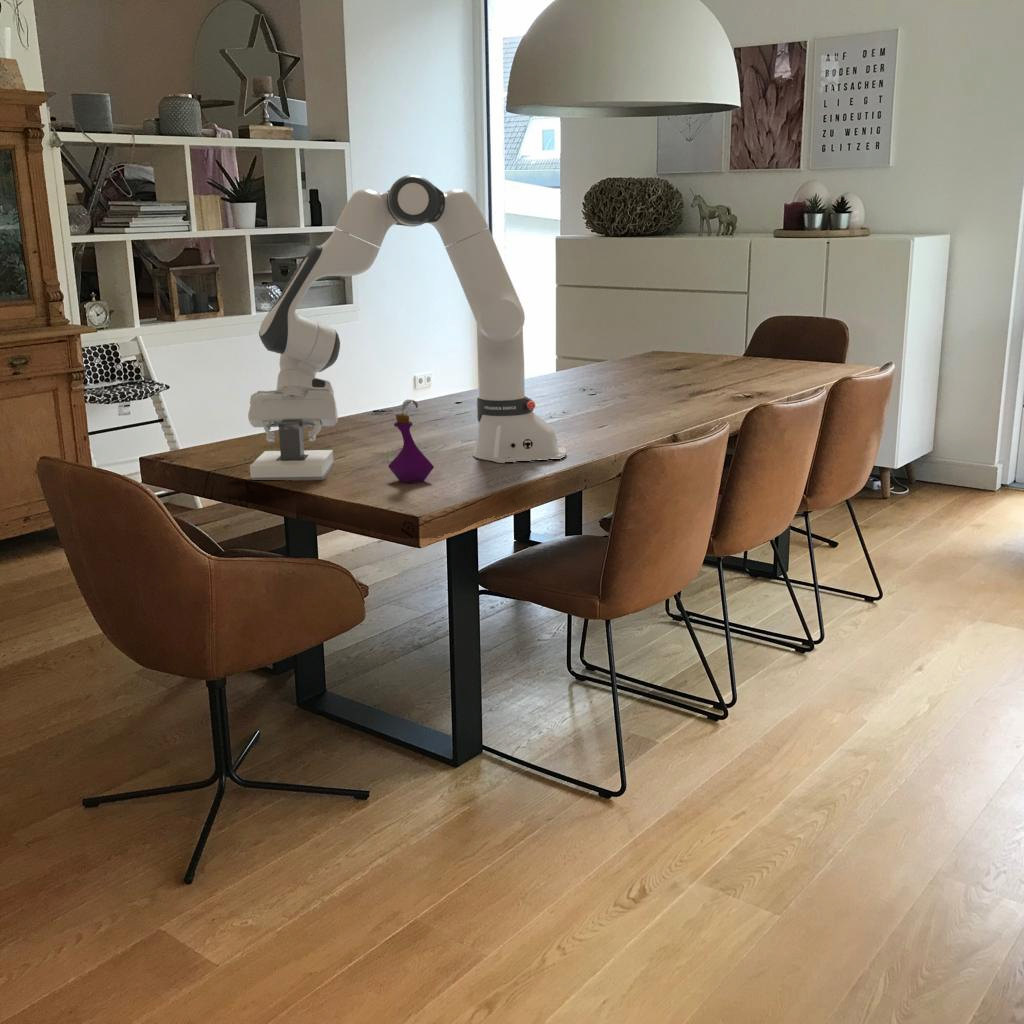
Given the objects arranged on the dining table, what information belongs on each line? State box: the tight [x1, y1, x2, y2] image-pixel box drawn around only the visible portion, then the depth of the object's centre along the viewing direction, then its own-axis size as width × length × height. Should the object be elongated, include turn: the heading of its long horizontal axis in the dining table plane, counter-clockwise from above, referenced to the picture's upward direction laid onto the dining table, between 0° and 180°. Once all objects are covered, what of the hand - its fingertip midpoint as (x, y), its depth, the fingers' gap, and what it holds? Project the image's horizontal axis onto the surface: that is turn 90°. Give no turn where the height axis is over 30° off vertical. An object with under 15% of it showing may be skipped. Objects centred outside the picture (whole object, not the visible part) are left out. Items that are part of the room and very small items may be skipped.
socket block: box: [249, 449, 334, 482], centre depth 261 cm, size 16×16×4 cm
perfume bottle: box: [387, 399, 435, 484], centre depth 250 cm, size 8×8×18 cm
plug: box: [278, 420, 305, 461], centre depth 260 cm, size 4×4×11 cm
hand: (290, 439), depth 259 cm, fingers open, 8 cm apart
